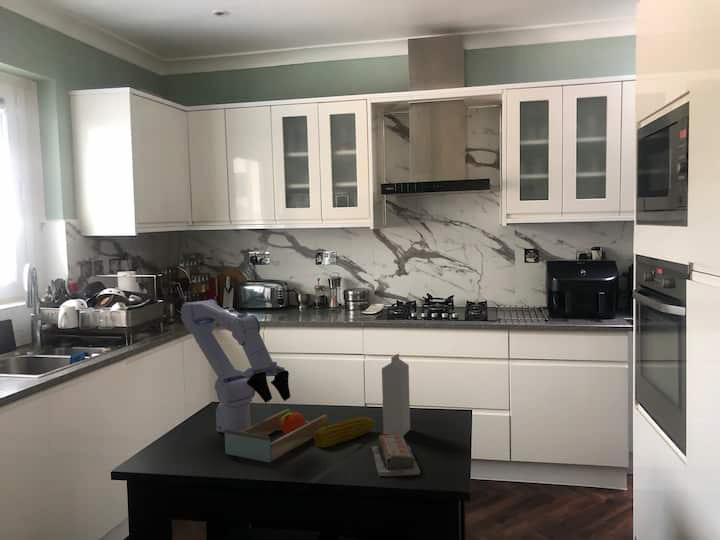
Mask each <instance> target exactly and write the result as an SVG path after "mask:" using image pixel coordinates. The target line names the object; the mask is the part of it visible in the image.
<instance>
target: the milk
mask: <svg viewBox="0 0 720 540" xmlns="http://www.w3.org/2000/svg"><path fill="white" fill-rule="evenodd" d="M390 361H391V362H390V363H388V364H387V365H385V366H383V367H382V368H381V383H382V384H381V389H382V391H381V392H382V419H383V421H382V424H383V427H382V429H383V435H392V434H399V435H402V436H403V437H405V435H406V434H407V433H408V432H409V431H410V430H411V411H410V410H411V409H410V408H411V406H410V370H409V364H408V363H407V362H405V361H403V360H402V359H400V353H396V354H394V355H393V356H392V357H391V360H390Z"/></svg>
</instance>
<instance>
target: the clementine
mask: <svg viewBox="0 0 720 540" xmlns="http://www.w3.org/2000/svg"><path fill="white" fill-rule="evenodd" d="M282 418H283V419H282ZM282 418H281V419H282V421H281V419H280V421H281V429H282V433H283V434H284V436H285V435H286V434H288V433H290V432H292V431H294V430H296V429H298V428H300V427H302V426H303V425H305V424H306V423H305V421H306V420H305V418H304V416H303V415H302V414H301V413H299V412H296V411H290V413H287V414H285V415H284V416H283V417H282ZM280 421H279V422H280ZM278 425H279V424H278Z"/></svg>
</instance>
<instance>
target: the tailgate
mask: <svg viewBox="0 0 720 540" xmlns="http://www.w3.org/2000/svg"><path fill="white" fill-rule="evenodd" d="M223 433H224V449H225V454H226V455H230V456H236V457H239V458H245V459H249V460H250V459H251V460H255V461H260V462H264V463H271V462H272V461H271V451H270V443H271V436H269V435H266V436H265V435H259V434H254V433H248V432H242V431H236V430H231V429H225V430H224V432H223Z"/></svg>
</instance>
